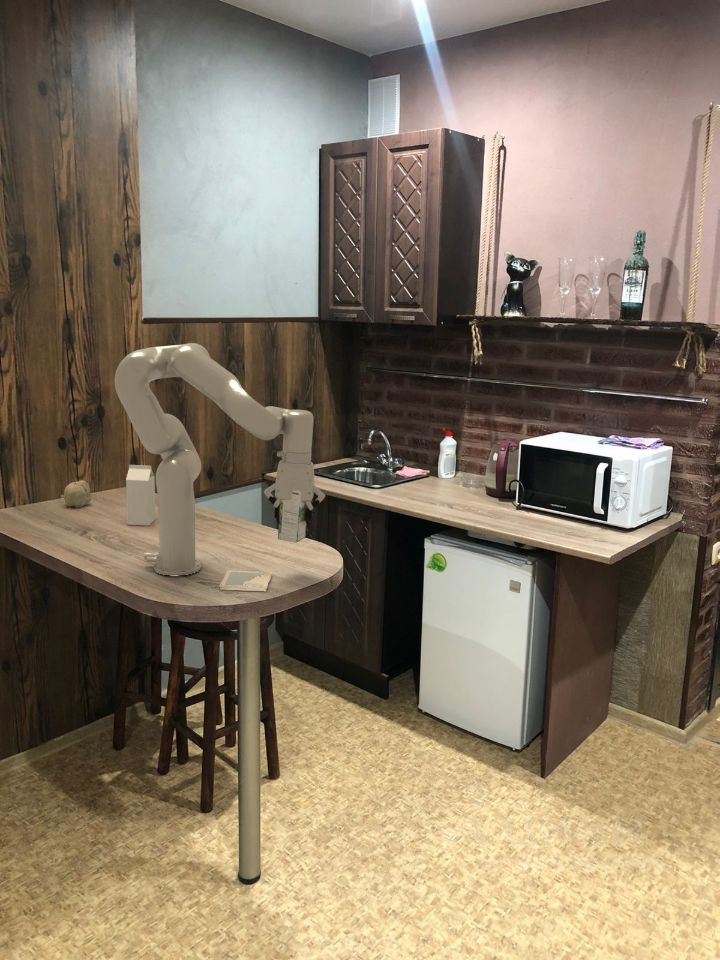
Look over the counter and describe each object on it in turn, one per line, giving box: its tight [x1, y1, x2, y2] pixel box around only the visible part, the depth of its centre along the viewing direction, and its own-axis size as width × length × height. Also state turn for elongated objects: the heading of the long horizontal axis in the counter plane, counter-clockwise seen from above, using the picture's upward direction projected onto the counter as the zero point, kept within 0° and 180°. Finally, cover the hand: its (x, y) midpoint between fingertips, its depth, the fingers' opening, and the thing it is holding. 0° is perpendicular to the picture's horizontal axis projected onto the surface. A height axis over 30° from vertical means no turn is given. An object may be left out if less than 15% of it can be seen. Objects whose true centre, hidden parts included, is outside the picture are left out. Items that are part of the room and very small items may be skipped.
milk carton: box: [125, 464, 156, 526], centre depth 255 cm, size 7×7×19 cm
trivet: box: [218, 570, 265, 588], centre depth 208 cm, size 12×12×1 cm
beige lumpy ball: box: [60, 480, 92, 508], centre depth 272 cm, size 9×8×10 cm
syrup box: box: [277, 489, 308, 543], centre depth 212 cm, size 6×6×14 cm
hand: (293, 521), depth 213 cm, fingers closed on syrup box, 7 cm apart
